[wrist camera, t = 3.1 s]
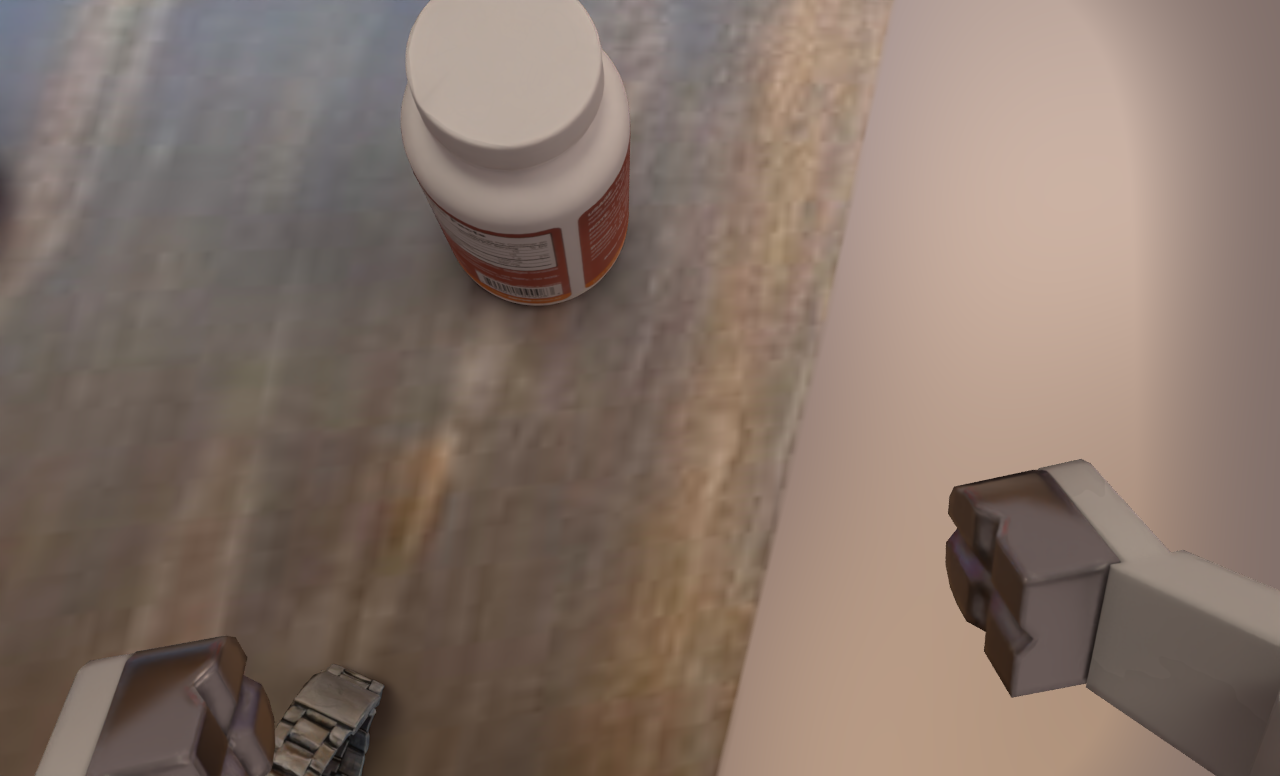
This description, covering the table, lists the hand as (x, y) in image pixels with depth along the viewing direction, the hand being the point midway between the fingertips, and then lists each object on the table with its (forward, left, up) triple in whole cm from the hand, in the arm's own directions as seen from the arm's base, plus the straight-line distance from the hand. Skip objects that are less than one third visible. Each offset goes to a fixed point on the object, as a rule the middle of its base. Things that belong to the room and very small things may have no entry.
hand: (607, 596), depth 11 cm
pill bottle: (+2, +12, -21) cm, 25 cm away
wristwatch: (-10, -2, -21) cm, 23 cm away
